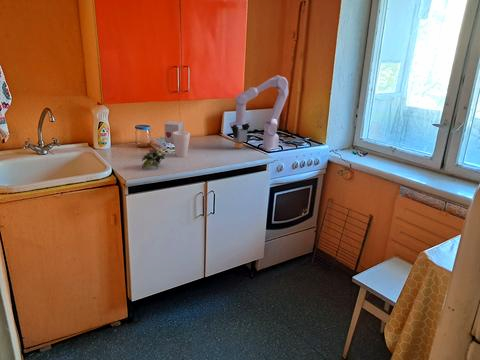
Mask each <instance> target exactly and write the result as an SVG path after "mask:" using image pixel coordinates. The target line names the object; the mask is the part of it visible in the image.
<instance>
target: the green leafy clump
mask: <svg viewBox="0 0 480 360" xmlns="http://www.w3.org/2000/svg"><path fill="white" fill-rule="evenodd" d="M165 159H166V153H165V152H162V151H161V150H158V149H156V148H152V149H149V151H148V152H146V154H145V155H143V157H142V158H141V162H143V161H144V162H143V163H142V165H141V168H142V169H144V168H148V167H149V166H150V165H152V166H154V167H156V170H158V169H159V166H160V164H161V161H162V160H165Z"/></svg>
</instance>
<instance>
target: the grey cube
mask: <svg viewBox="0 0 480 360" xmlns="http://www.w3.org/2000/svg"><path fill="white" fill-rule="evenodd" d="M232 141H235V142H236V141H237V142H247V141H248V130H244V129H242V128H238V132H237V138H235V137H234V135H233V134H232Z"/></svg>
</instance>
